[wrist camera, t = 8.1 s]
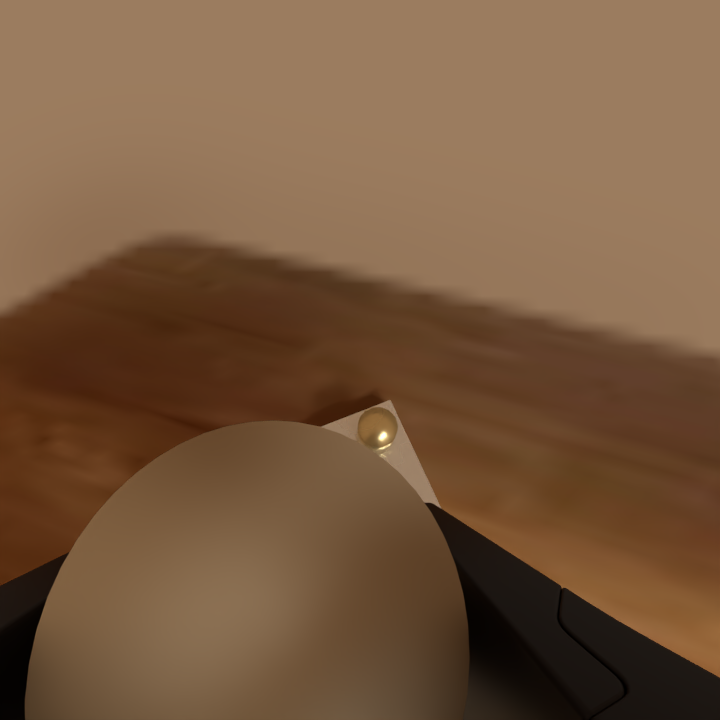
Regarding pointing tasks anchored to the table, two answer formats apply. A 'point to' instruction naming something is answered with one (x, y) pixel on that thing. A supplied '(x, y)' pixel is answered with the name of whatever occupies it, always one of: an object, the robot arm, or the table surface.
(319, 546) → the maple peg
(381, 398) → the table surface
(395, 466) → the base plate
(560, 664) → the robot arm
